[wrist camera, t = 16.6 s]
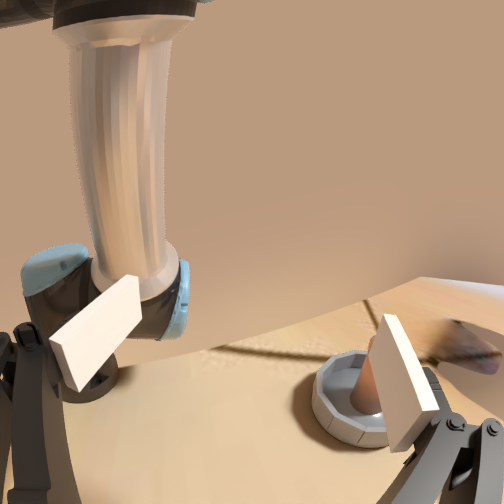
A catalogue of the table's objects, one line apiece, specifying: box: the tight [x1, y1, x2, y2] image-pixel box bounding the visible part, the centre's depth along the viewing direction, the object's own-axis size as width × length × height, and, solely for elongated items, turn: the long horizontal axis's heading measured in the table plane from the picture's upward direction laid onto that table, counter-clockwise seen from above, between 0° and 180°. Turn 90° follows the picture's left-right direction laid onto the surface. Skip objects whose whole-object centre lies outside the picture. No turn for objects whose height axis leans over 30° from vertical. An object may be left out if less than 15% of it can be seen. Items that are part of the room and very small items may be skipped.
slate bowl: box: [311, 350, 389, 448], centre depth 41 cm, size 20×20×4 cm
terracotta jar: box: [350, 335, 415, 415], centre depth 39 cm, size 8×8×12 cm
